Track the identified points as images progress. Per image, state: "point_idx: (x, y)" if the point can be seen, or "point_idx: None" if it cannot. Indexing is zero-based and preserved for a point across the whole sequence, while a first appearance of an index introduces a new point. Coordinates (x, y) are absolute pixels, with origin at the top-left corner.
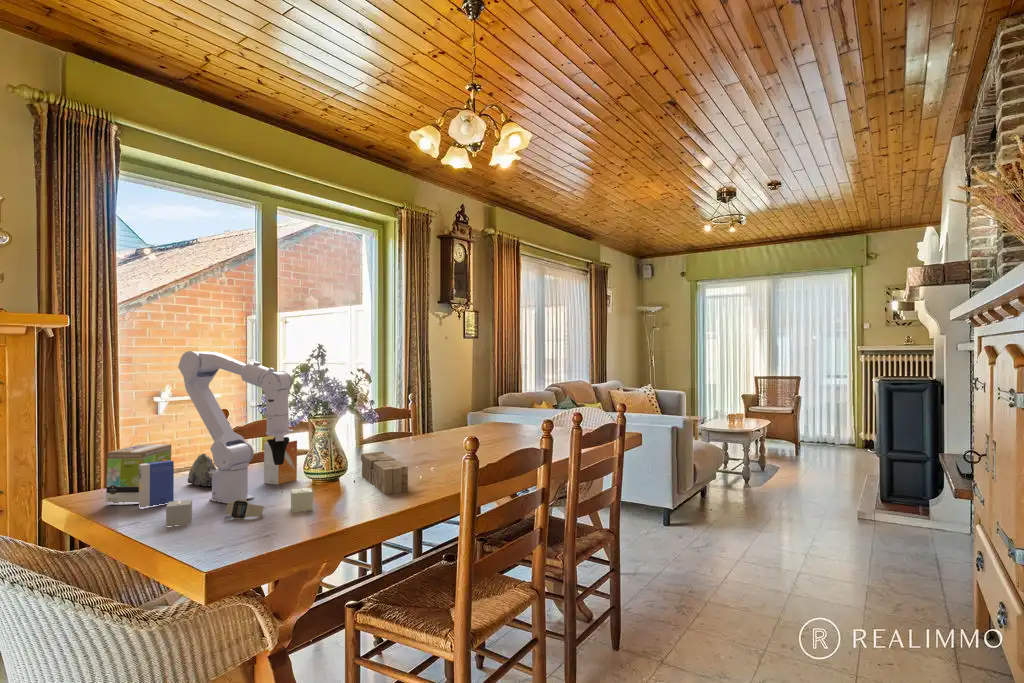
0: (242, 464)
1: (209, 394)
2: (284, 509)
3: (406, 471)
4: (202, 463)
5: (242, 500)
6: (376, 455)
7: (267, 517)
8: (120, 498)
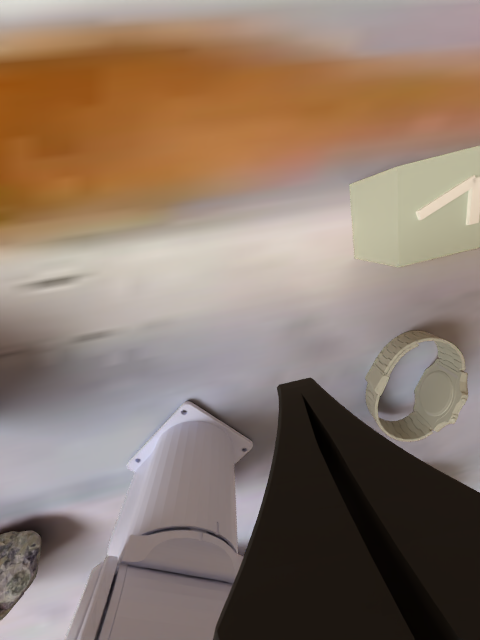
0: (187, 562)
1: None
2: (364, 277)
3: None
4: None
5: (460, 406)
6: None
7: (440, 310)
8: None
